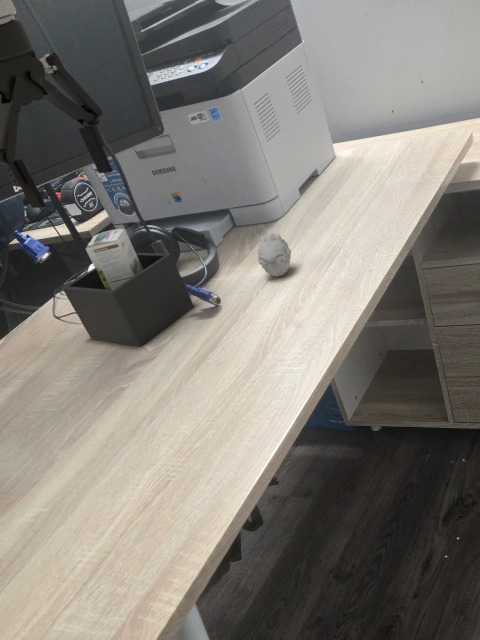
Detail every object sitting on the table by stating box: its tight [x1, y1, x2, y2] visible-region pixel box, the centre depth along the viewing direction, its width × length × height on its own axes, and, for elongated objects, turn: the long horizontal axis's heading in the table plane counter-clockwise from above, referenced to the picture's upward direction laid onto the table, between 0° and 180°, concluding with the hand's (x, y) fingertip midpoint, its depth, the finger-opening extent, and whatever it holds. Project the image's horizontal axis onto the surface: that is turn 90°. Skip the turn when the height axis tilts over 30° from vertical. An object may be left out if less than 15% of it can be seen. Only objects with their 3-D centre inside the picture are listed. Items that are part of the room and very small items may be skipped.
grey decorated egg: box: [257, 233, 292, 277], centre depth 117 cm, size 6×7×7 cm
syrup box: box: [85, 228, 143, 290], centre depth 112 cm, size 6×6×14 cm
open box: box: [62, 252, 195, 348], centre depth 113 cm, size 14×14×10 cm
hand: (73, 189), depth 101 cm, fingers open, 13 cm apart
